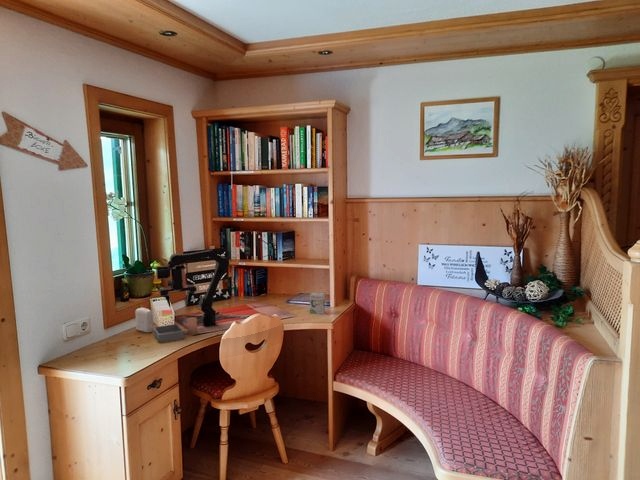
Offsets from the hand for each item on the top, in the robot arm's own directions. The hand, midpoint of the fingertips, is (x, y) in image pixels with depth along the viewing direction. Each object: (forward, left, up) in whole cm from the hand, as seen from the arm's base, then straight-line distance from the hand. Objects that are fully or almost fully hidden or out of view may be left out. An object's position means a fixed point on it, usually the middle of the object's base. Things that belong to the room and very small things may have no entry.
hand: (178, 305), depth 250 cm
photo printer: (+17, -7, -13) cm, 22 cm away
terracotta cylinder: (-4, +11, -13) cm, 17 cm away
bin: (+8, +10, -13) cm, 18 cm away
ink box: (-79, +12, -13) cm, 81 cm away
